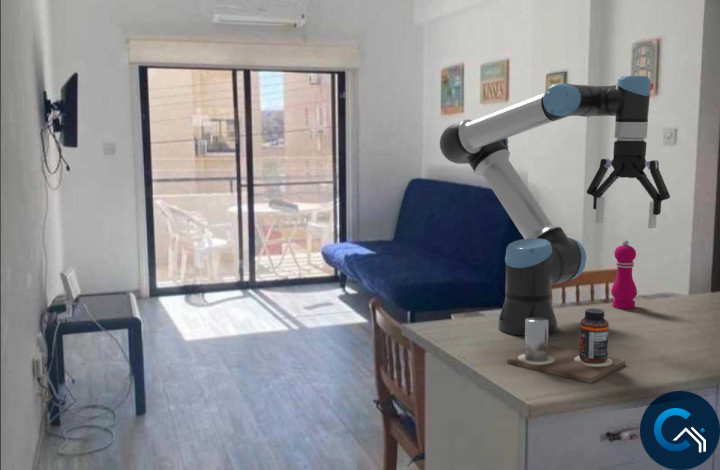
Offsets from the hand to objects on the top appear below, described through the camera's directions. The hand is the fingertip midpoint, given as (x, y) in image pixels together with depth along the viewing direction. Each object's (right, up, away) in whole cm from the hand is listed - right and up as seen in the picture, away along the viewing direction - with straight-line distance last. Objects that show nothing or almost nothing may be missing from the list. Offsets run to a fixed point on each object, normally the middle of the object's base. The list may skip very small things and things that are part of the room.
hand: (624, 225), depth 176 cm
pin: (-27, -31, -19) cm, 45 cm away
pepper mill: (+12, -24, +32) cm, 42 cm away
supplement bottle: (-15, -30, -21) cm, 40 cm away
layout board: (-21, -31, -20) cm, 42 cm away
